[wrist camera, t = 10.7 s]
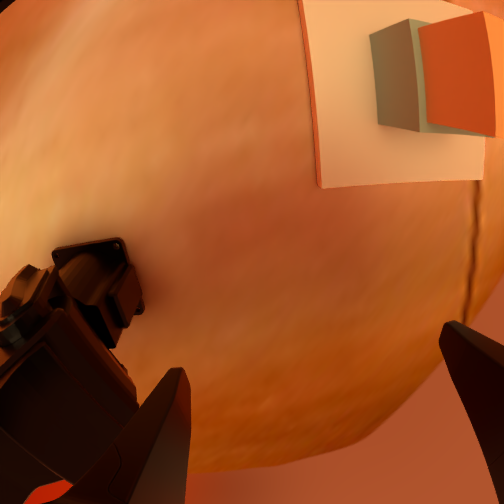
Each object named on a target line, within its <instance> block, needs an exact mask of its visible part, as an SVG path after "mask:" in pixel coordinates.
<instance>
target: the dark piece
mask: <svg viewBox="0 0 504 504" xmlns="http://www.w3.org/2000/svg"><path fill="white" fill-rule="evenodd" d="M14 1H15V0H0V13H1V12H2V11H3V10H5V9H6V8H7V7H8V6H9V5H10V4H12V3H13V2H14Z"/></svg>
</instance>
